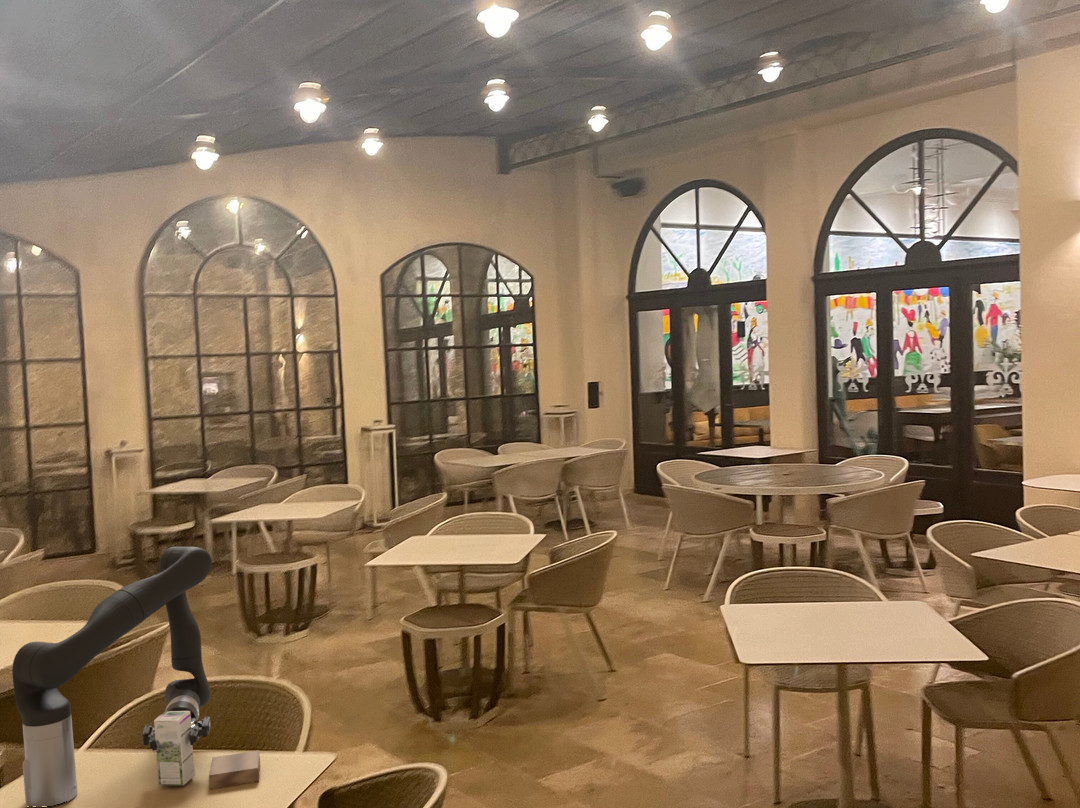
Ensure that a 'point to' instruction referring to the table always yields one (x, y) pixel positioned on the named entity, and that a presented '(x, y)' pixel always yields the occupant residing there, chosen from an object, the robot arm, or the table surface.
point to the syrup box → (174, 748)
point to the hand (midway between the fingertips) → (173, 743)
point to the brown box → (234, 769)
